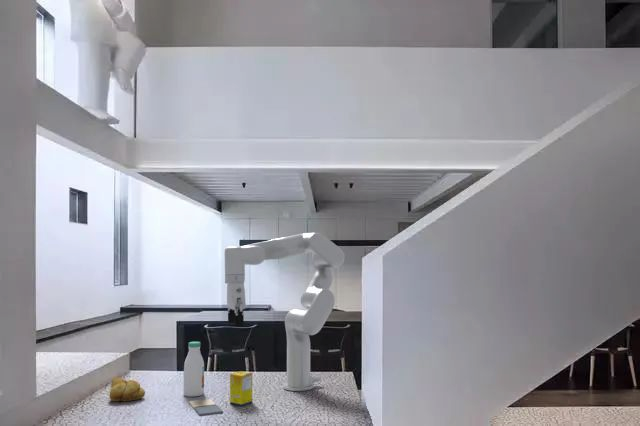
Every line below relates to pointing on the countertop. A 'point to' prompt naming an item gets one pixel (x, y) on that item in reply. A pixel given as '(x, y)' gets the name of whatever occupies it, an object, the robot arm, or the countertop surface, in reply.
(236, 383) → the supplement box
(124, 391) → the bread roll
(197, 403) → the cream square tile
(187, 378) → the milk bottle
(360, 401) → the countertop surface
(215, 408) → the slate mat
